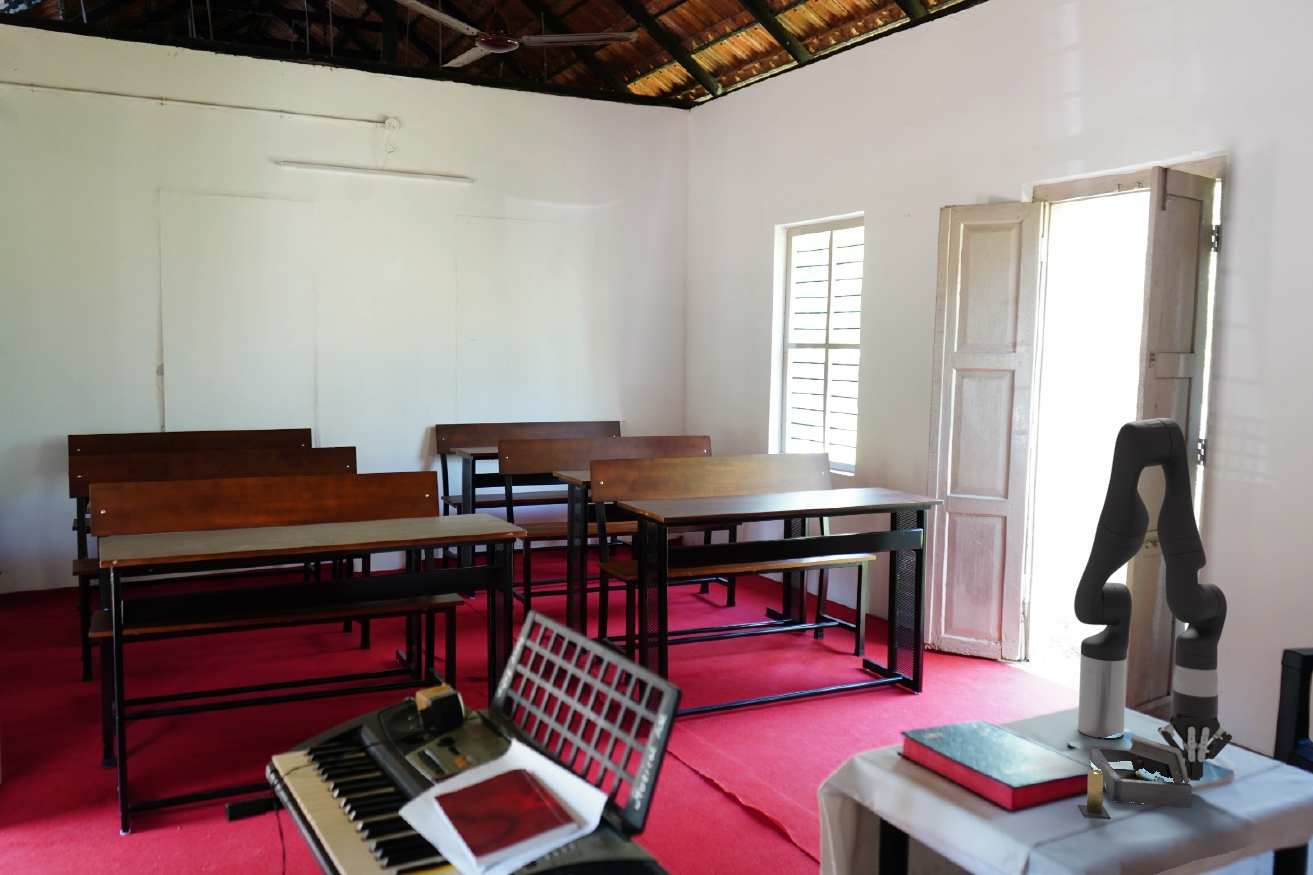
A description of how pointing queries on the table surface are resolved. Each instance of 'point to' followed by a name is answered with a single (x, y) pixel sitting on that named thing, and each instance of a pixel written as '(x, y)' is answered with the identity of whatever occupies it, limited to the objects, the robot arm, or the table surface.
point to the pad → (1089, 814)
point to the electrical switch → (1158, 759)
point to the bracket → (1137, 782)
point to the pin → (1095, 791)
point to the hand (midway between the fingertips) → (1193, 779)
